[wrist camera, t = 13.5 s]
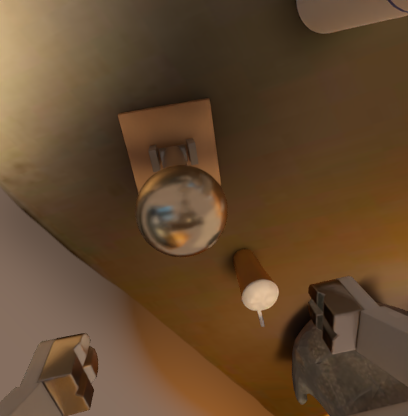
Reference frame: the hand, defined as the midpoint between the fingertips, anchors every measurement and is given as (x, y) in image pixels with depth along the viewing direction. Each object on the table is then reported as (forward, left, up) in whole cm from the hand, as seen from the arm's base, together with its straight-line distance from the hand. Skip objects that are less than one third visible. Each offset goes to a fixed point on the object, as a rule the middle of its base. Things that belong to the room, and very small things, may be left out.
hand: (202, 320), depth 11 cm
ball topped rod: (-3, 0, -15) cm, 15 cm away
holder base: (0, 0, -27) cm, 27 cm away
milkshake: (+18, +7, -27) cm, 33 cm away
